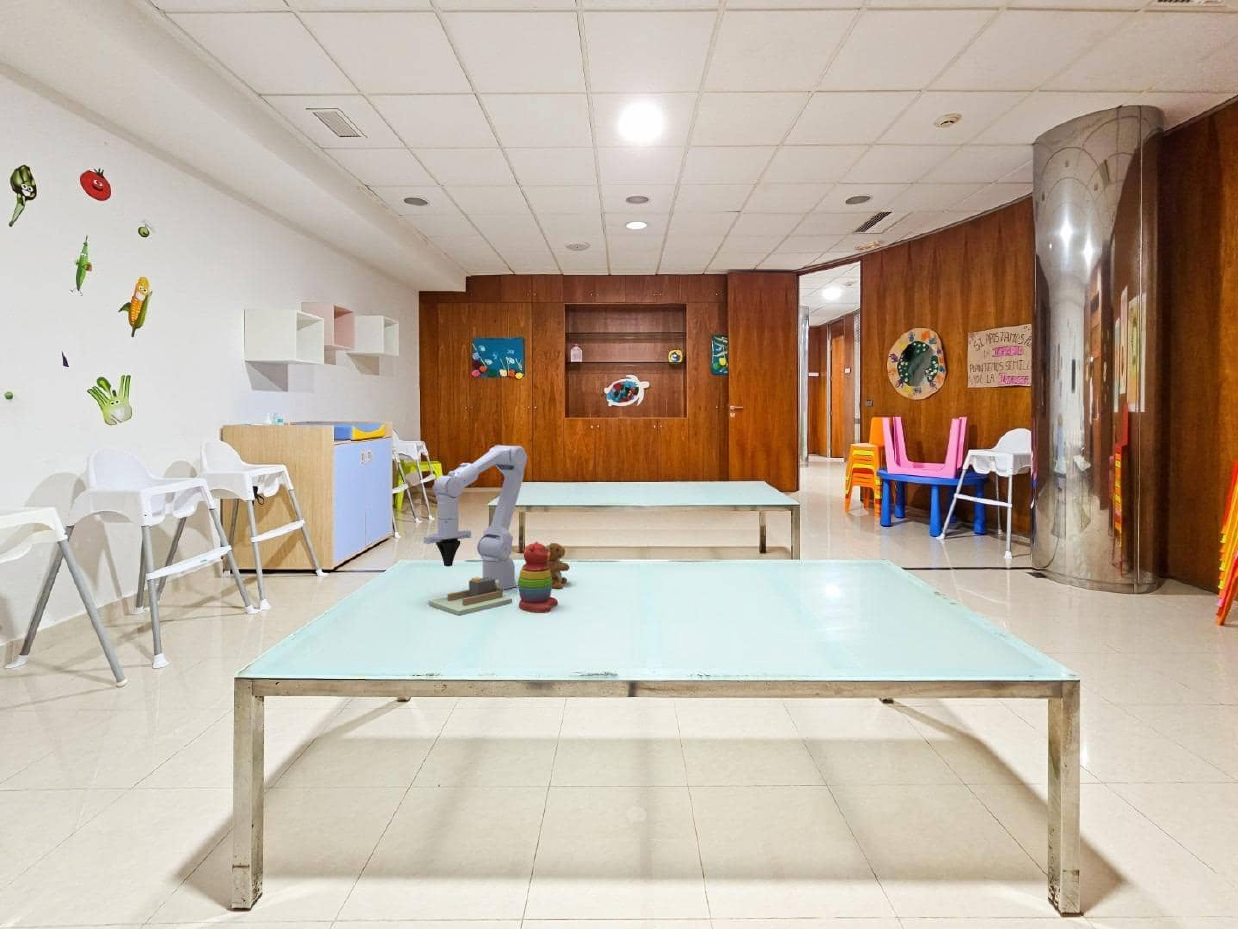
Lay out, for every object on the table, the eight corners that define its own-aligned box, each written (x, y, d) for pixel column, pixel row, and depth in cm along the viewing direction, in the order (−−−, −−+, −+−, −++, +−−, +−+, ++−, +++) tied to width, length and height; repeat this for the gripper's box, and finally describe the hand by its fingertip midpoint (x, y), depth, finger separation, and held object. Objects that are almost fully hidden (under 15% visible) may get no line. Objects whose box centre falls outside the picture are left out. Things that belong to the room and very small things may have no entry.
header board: (481, 593, 206) (481, 574, 206) (512, 602, 197) (512, 582, 197) (428, 605, 193) (428, 584, 193) (458, 615, 184) (458, 593, 183)
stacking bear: (548, 613, 187) (548, 547, 186) (512, 610, 189) (512, 545, 188) (559, 603, 197) (559, 540, 196) (525, 600, 199) (525, 539, 198)
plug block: (486, 594, 201) (486, 574, 201) (494, 596, 199) (494, 576, 198) (469, 598, 197) (469, 577, 196) (477, 600, 194) (477, 580, 194)
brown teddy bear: (563, 589, 213) (563, 547, 212) (519, 586, 216) (519, 544, 215) (572, 582, 223) (572, 541, 222) (530, 579, 226) (530, 539, 225)
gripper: (461, 514, 205) (461, 560, 206) (417, 519, 195) (417, 567, 196) (475, 517, 201) (475, 563, 202) (431, 522, 190) (432, 571, 191)
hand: (448, 565), depth 198 cm, fingers closed
